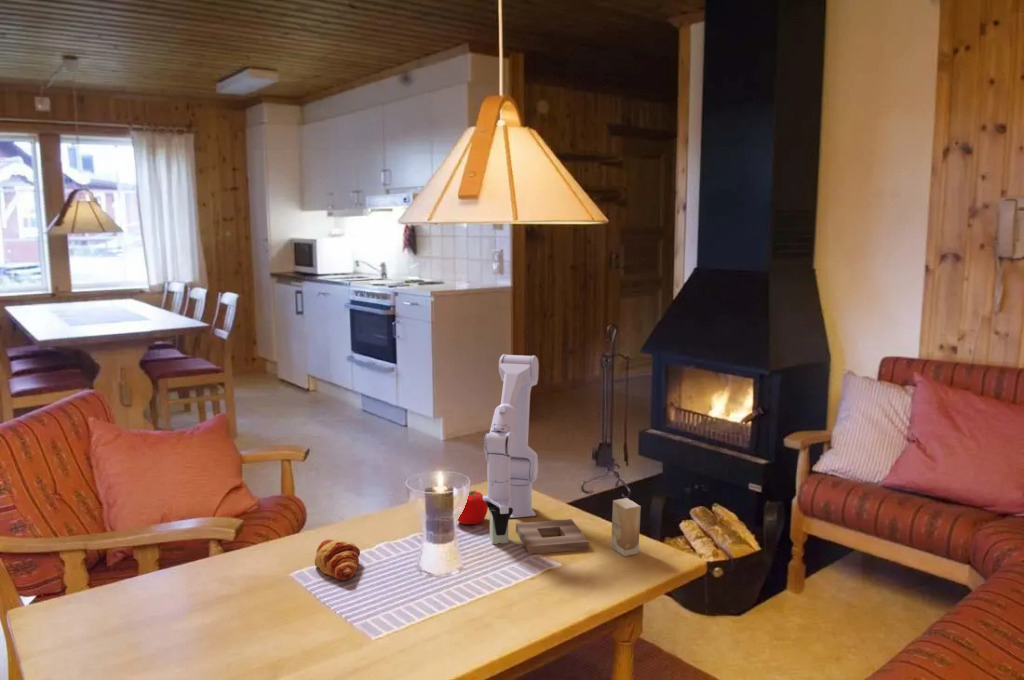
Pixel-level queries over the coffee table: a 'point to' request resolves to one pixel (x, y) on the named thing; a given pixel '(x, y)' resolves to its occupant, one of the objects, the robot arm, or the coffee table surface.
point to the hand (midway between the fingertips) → (498, 531)
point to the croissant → (337, 558)
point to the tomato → (474, 509)
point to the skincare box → (625, 527)
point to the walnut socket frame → (566, 541)
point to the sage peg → (493, 535)
